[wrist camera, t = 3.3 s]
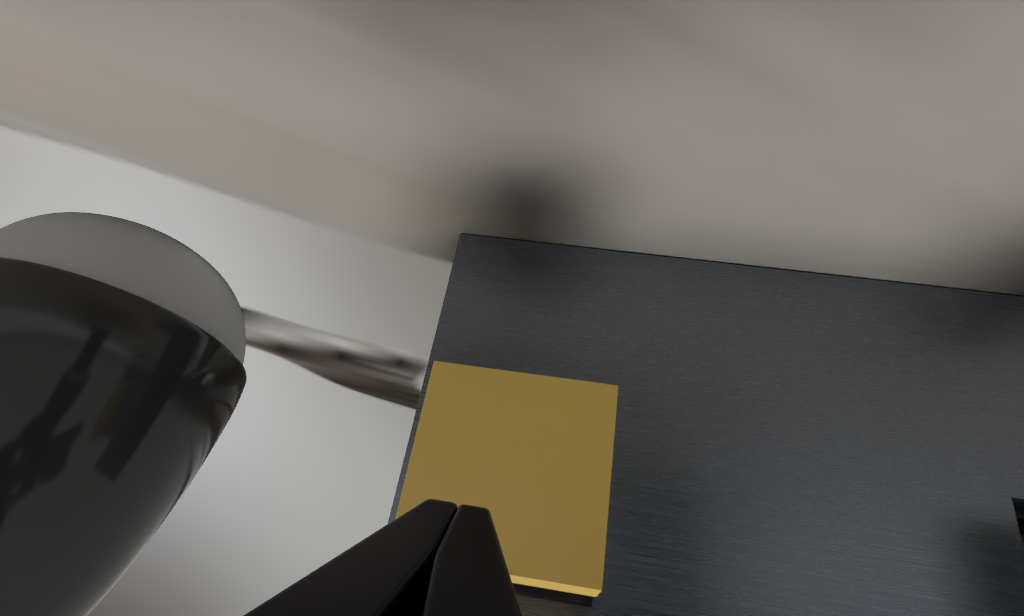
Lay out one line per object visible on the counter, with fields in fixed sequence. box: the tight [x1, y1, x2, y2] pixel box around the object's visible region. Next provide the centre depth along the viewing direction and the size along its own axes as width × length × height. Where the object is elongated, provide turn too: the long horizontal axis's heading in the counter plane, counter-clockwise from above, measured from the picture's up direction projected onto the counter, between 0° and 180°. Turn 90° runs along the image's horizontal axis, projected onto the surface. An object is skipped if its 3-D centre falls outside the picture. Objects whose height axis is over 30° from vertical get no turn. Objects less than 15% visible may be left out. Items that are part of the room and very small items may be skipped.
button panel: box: [388, 234, 1024, 616], centre depth 18 cm, size 4×20×11 cm, turn 92°
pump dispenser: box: [0, 212, 246, 616], centre depth 20 cm, size 10×10×15 cm
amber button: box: [395, 361, 618, 597], centre depth 14 cm, size 5×4×4 cm
